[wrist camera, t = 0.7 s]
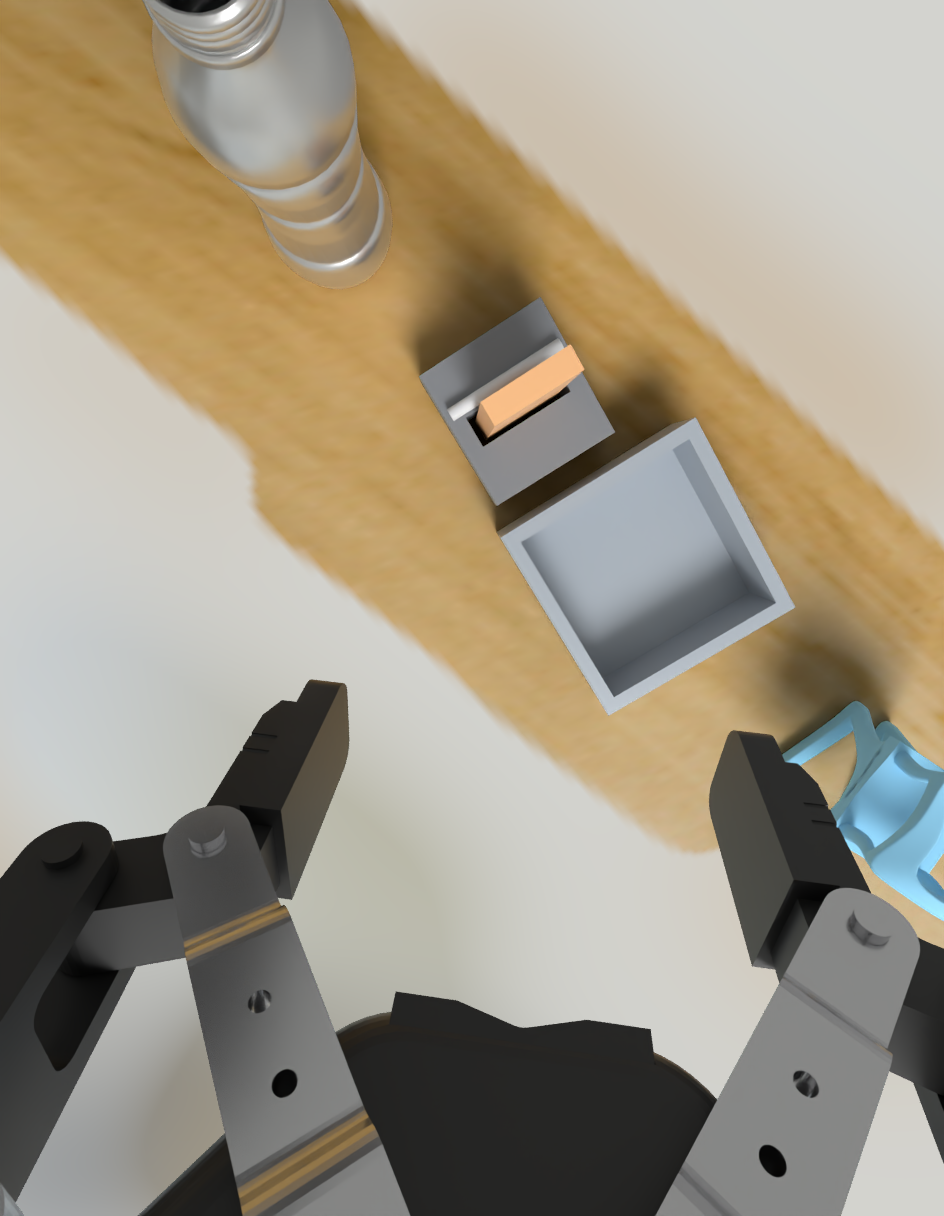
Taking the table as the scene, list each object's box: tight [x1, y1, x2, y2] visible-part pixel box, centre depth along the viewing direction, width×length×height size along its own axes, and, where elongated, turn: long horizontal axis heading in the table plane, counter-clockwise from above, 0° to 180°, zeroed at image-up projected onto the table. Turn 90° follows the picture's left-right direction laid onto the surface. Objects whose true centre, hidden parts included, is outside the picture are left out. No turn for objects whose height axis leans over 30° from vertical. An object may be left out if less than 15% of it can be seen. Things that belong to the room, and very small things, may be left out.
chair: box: [782, 701, 944, 921], centre depth 36 cm, size 8×8×12 cm
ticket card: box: [475, 344, 584, 440], centre depth 33 cm, size 1×4×10 cm, turn 122°
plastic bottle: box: [143, 0, 393, 289], centre depth 26 cm, size 6×7×20 cm
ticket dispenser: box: [419, 297, 615, 506], centre depth 36 cm, size 8×8×4 cm
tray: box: [497, 417, 795, 716], centre depth 37 cm, size 12×12×4 cm
